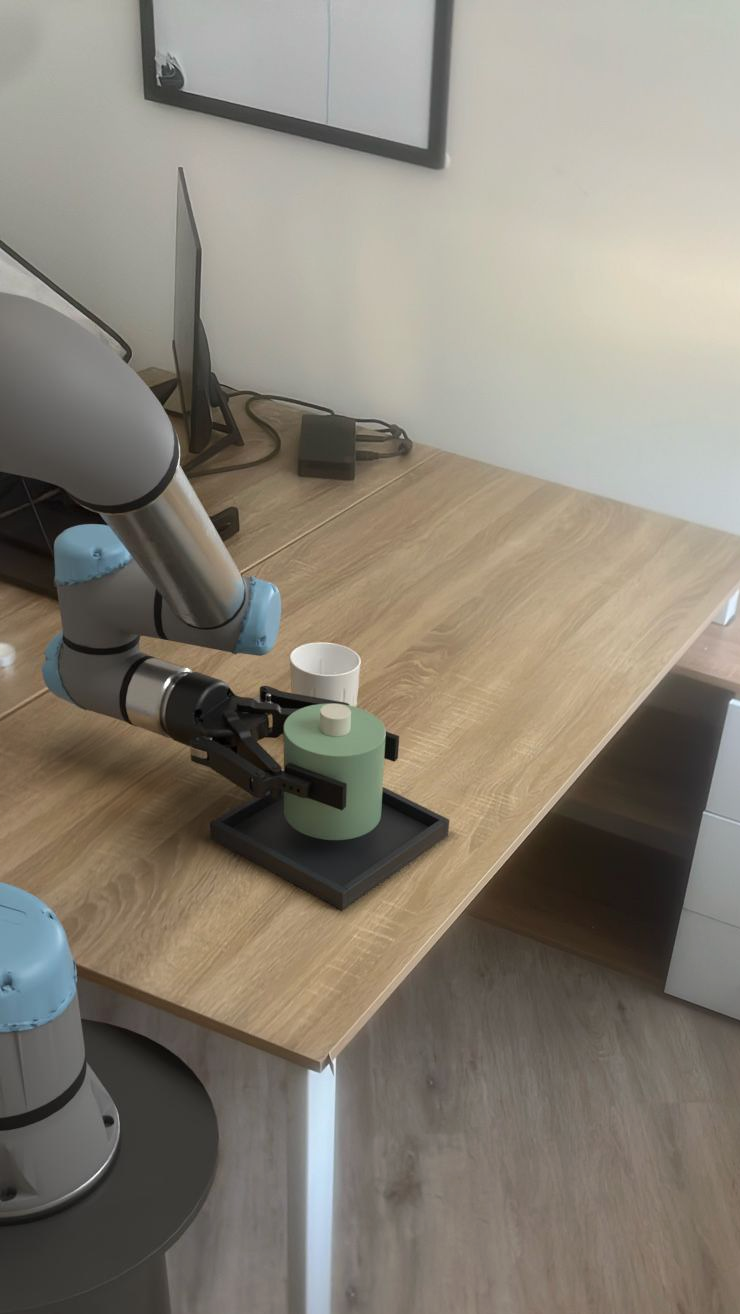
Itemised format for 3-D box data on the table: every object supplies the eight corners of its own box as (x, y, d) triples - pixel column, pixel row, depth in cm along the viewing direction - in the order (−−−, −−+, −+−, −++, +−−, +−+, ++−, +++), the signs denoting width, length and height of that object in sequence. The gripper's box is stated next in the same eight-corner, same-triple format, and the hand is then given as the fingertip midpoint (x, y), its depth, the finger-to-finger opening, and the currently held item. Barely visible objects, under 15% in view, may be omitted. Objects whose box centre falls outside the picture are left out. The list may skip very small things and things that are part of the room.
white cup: (312, 759, 145) (313, 681, 139) (276, 727, 149) (276, 650, 143) (370, 743, 149) (374, 666, 143) (334, 712, 154) (336, 636, 147)
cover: (338, 852, 127) (341, 749, 119) (263, 813, 131) (261, 710, 123) (400, 811, 134) (407, 711, 126) (327, 775, 137) (329, 675, 130)
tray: (342, 910, 125) (342, 893, 124) (210, 838, 131) (209, 821, 130) (448, 835, 137) (449, 819, 136) (322, 773, 143) (323, 757, 142)
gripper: (245, 693, 143) (420, 754, 138) (117, 785, 126) (311, 858, 121) (243, 632, 138) (425, 693, 133) (110, 719, 121) (312, 792, 116)
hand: (371, 772), depth 127 cm, fingers closed on cover, 10 cm apart
